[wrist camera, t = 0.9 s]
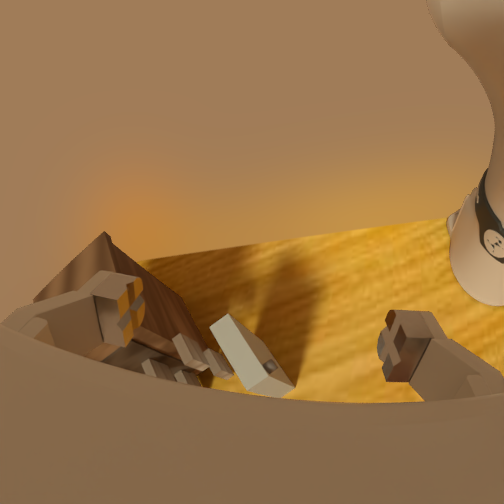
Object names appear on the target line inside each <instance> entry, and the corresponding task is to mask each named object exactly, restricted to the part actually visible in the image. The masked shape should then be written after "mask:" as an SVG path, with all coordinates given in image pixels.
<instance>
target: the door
mask: <svg viewBox="0 0 504 504" xmlns="http://www.w3.org/2000/svg"><path fill="white" fill-rule="evenodd" d="M209 328H210V330H211V331H212V333H213V335H214V337H215V338H216V340H217V342H218V344H219V345H220V347H221V349H222V350H223V352H224V354H225V355H226V357H227V359H228V360H229V362H230V364H231V365H232V367H233V369H234V370H235V372H236V374H237V375H238V377H239V379H240V380H241V382H242V383H243V385H244V387H245V388H246V390H247V391H250V392H254V393H258V394H262V395H266V396H270V397H274V398H281V397H283V396H284V395H286V394H287V393H289V392H290V391H292V390H293V389H294V388H295V387H294V385H293V384H292V382H291V381H290V380H289V378H288V377H287V375H286V374H285V372H284V371H283V370H282V368H281V367H280V365H279V364H278V362H277V361H276V359H275V358H274V357H273V355H272V354H271V352H270V351H269V349H268V348H267V346H266V345H265V344H264V342H263V341H262V340H261V339H259V338H258V337H257V336H256V335H254V334H253V333H252V332H250V331H249V330H248V329H247V328H245V327H244V326H243V325H242V324H241V323H239V322H238V321H237V320H236V319H234V318H233V317H232V316H231V315H229V314H226V315H225V316H224V317H222V318H221V319H220V320H218V321H217V322H216V323H214V324H213V325H211V326H210V327H209Z"/></svg>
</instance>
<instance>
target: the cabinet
mask: <svg viewBox="0 0 504 504" xmlns="http://www.w3.org/2000/svg"><path fill="white" fill-rule="evenodd" d="M101 270H104V271H110V272H114V273H120V274H125V275H130V276H135V277H140V278H141V280H142V283H143V291H142V292H141V293H140V296H141V297H142V298H143V300H144V302H145V314H144V318H143V321H142V323H141V325H140V326H139V327H138V328H136V329H134V330H133V334H134V336H133V337H132V339H131V340H130V342H129V343H128V345H127V346H126V348H125V347H121V346H117V345H112V344H108V343H104V342H103V344H101V345H100V346H98V347H96V348H95V349H93V350H91V351H89V352H88V353H86V354H84V355H83V357H86V358H89V359H92V360H95V361H99V362H102V363H105V364H109V365H112V366H116V367H119V368H123V369H126V370H130V371H134V372H137V373H141V374H145V375H149V376H153V377H158V378H162V379H166V380H171V381H175V382H180V383H185V384H190V385H195V386H200V387H202V386H201V384H200V382H199V380H198V378H197V377H196V376H197V375H198V374H200V373H201V372H203V371H204V370H206V369H207V368H208V367H209V368H210V369H211V371H212V373H213V375H214V376H217V377H220V378H223V379H226V380H227V379H229V378H230V377H232V376H233V375H234V374H233V373H232V371H231V369H230V368H229V366H228V364H227V363H226V361H225V359H224V357H223V356H222V355H221V354H219V353H217V352H215V351H213V350H211V349H209V348H208V347H207V345H206V343H205V341H204V339H203V338H202V336H201V334H200V332H199V330H198V328H197V327H196V325H195V323H194V321H193V319H192V317H191V315H190V313H189V311H188V310H187V308H186V306H185V304H184V302H183V300H182V298H181V297H180V296H179V295H178V294H176V293H175V292H174V291H172V290H171V289H170V288H168V287H167V286H166V285H164V284H163V283H162V282H160V281H159V280H158V279H157V278H155V277H154V276H153V275H151V274H150V273H149V272H148V271H146V270H145V269H144V268H142V267H141V266H140V265H139V264H137V263H136V262H135V261H134V260H132V259H131V258H130V257H129V256H127V255H126V254H125V253H124V252H122V251H121V250H120V249H119V248H118V247H116V246H115V245H114V244H113V243H112V241H111V237H110V236H109V235H108V234H107V233H106V232H103V233H102V234H101V235H100V236H99V237H97V238H96V239H95V240H94V241H93V242H92V243H91V244H89V245H88V247H86V248H85V249H84V250H83V251H82V252H81V253H80V254H79V255H77V257H75V258H74V259H73V260H72V261H71V262H70V263H69V264H68V265H67V266H66V267H65V268H64V269H63V270H62V271H61V272H60V273H59V274H58V275H57V276H56V277H55V278H54V279H53V280H52V281H51V282H50V283H49V284H48V285H47V286H46V287H45V288H44V289H43V290H42V291H41V292H40V293H39V294H38V295H37V296H36V297H35V298H34V299H33V301H34V303H36V302H39V301H42V300H45V299H49V298H52V297H55V296H58V295H61V294H64V293H67V292H71V291H78V290H79V289H80V288H81V287H82V286H83V285H84V284H85V283H86V282H88V281H89V280H90V279H91V278H92V277H93V276H94V275H95V274H96V273H98V272H99V271H101Z"/></svg>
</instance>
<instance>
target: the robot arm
mask: <svg viewBox="0 0 504 504" xmlns="http://www.w3.org/2000/svg"><path fill="white" fill-rule="evenodd" d="M426 3H427V7H428V10H429V13H430V15H431V18H432V20H433V22H434V24H435V26H436V28H437V29H438V31H439V33H440V34H441V35H442V37H443V38H444V40H445V41H446V42H447V43H448V45H449V46H450V47H452V48H453V49H454V50H455V51H456V52H457V53H458V54H459V55H460V56H461V57H462V58H463V59H464V60H465V61H466V62H467V64H468V65H469V66H470V67H471V69H472V70H473V71H474V73H475V74H476V76H477V77H478V79H479V80H480V82H481V84H482V86H483V88H484V89H485V91H486V94H487V96H488V98H489V101H490V104H491V107H492V111H493V115H494V122H495V135H494V143H493V150H492V155H491V160H490V164H489V168H487V170H486V171H485V172H484V174H483V177H482V179H481V181H480V183H479V186H478V188H477V187H476V188H474V190H473V191H472V193H471V195H469V194H468V195H467V196H466V198H465V200H464V202H463V205H462V207H461V209H459V210H458V211H456V212H455V213H453V214H452V215H450V216H449V218H448V220H447V228H448V232H449V234H450V238H451V243H450V262H451V266H452V269H453V272H454V274H455V277H456V278H457V280H458V282H459V283H460V285H461V286H462V287H463V289H464V290H465V291H466V292H467V293H468V294H469V295H471V296H472V297H473V298H475V299H476V300H478V301H480V302H482V303H484V304H488V305H492V306H503V305H504V0H426ZM142 291H143V283H142V280H141V278H140V277H135V276H130V275H125V274H120V273H114V272H110V271H104V270H101V271H99V272H98V273H96V274H95V275H94V276H93V277H92V278H91V279H90V280H89V281H88V282H86V283H85V284H84V285H83V286H82V287H81V288H80V289H79V290H78V291H71V292H67V293H64V294H61V295H58V296H55V297H52V298H49V299H45V300H42V301H39V302H36V303H33V304H30V305H27V306H24V307H21V308H18V309H16V310H15V311H14V312H13V313H12V314H11V315H9V316H8V317H7V318H6V319H5V320H4V321H3V322H2V323H1V324H0V504H504V378H503V376H502V374H501V373H500V371H498V370H497V369H495V368H494V367H492V366H491V365H489V364H488V363H486V362H485V361H484V360H482V359H481V358H479V357H478V356H476V355H475V354H473V353H472V352H470V351H469V350H467V349H466V348H464V347H463V346H461V345H460V344H458V343H457V342H455V341H454V340H452V339H448V338H447V337H446V335H445V333H444V332H443V330H442V328H441V327H440V325H439V323H438V322H437V320H436V319H435V317H434V315H433V314H432V313H431V312H429V311H408V310H390V311H389V312H388V314H387V316H386V319H385V322H386V324H387V327H385V328H384V329H383V330H382V331H381V333H380V336H379V338H378V345H377V352H378V356H379V359H380V360H382V361H383V362H384V364H383V366H382V370H383V373H384V376H385V379H386V382H409V384H410V385H411V386H412V388H413V389H414V390H415V391H416V392H417V393H418V394H419V395H420V396H421V397H422V398H423V399H424V400H425V402H404V403H344V402H322V401H307V400H294V399H283V398H274V397H265V396H257V395H249V394H242V393H235V392H229V391H223V390H217V389H211V388H205V387H200V386H195V385H190V384H185V383H180V382H175V381H171V380H166V379H162V378H158V377H153V376H149V375H145V374H141V373H137V372H134V371H130V370H126V369H123V368H119V367H116V366H112V365H109V364H105V363H102V362H99V361H95V360H92V359H89V358H86V357H83V355H84V354H86V353H88V352H89V351H91V350H93V349H95V348H96V347H98V346H100V345H101V344H103V342H104V343H108V344H112V345H117V346H121V347H125V348H126V346H127V345H128V343H129V342H130V340H131V339H132V337H133V336H134V334H133V330H134V329H136V328H138V327H139V326H140V325H141V323H142V321H143V318H144V314H145V302H144V300H143V298H142V297H141V296H140V293H141V292H142Z"/></svg>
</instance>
